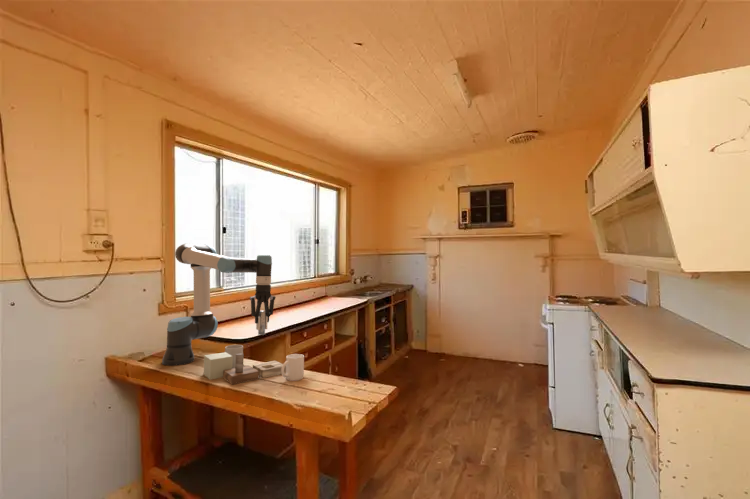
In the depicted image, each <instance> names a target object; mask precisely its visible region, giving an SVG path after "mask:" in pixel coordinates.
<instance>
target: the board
mask: <svg viewBox="0 0 750 499" xmlns="http://www.w3.org/2000/svg"><path fill="white" fill-rule="evenodd" d="M244 355H245V354H244V353H243V354H236V362H235V368H232V369H227V370H223V377H222V378H223V379H224V380H225V381H227V382H228V383H230V384H231V385H236V384H240V383H246V382H251V381H254V380H259V379H260V378H259V377H260V376H259V371H258V370H256V369H254V368H253V366H250V365H244Z"/></svg>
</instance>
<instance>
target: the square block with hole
mask: <svg viewBox="0 0 750 499" xmlns="http://www.w3.org/2000/svg"><path fill="white" fill-rule="evenodd" d="M283 364H284V363H281V362H279V361H277V360H270V361H267V362H260V363H255V364H252V368H254V369H256V370H258V371H259V377H260V378H262V379H264V378H270V377H273V376H277V375H282V374H281V368H282V365H283ZM284 373H285V374H286V366H285V368H284Z"/></svg>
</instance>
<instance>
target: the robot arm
mask: <svg viewBox="0 0 750 499" xmlns="http://www.w3.org/2000/svg"><path fill="white" fill-rule="evenodd" d="M174 257H175V258H176V260H177V261H178V262H179V263H181V264H186V265H190V268H191V270H192V272H193V312H192V313H191V314H190V316H180V317H176V318H173V319H169V322H168V323H167V328H166V330H167V332H166V334H167V335H166V349H165V352H164V354H163V357H162V360H161V361H162V362H161V364H162V365H164V366H169V367H170V366H172V367H174V366H181V365H186V364H191V363H193V362H195V353H194V351H193V347H192V341H193V340H197V339H202V338H208V337H210V336H213V335H214V334H215V333H216V331H217V329H218V325H219V323H218V322H219V321H218V319H217V317H216V316H214V313H213V312H212V310H211V269H214V270H219V272H220V273H225V274H230V273H235V274H236V273H238V274H239V273H241V274H242V273H255V276H256V277H255V284H256V285H255V292H254V295H253V296H249V300H250V315H251V316H252V317H254V324H256V325H255V329H256V330H257V331H258V330H260V317H259V313H260V311H261V308H262V304H263V305H264V311H266V320H265V330H268V323H269V322H270V317H271V315H273V314H274V306H275V300H276V296H275V295H272V294H271V289H272V285H271V284H272V266H273V261H272V259H273V258H272V256H271V255H269V254H257V255H256V258H250V257H249V258H248V257H247V258H246V257H245V258H244V257H230V256H225V255H222V254H218V253H217V250H216V249H215V247H213V246H212V245H209V244H201V243H200V244H199V243H183V244H180V245H179V246H178V247H177V248H176V249H175V253H174ZM256 300H257V301H256ZM269 300H270V301H269Z"/></svg>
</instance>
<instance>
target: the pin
mask: <svg viewBox="0 0 750 499" xmlns="http://www.w3.org/2000/svg"><path fill="white" fill-rule="evenodd" d="M259 317H260V330H257V333H258V334H257V335H259V336H262V335H263V336H264V335H266V329H265V320H266V311H265V310H260V313H259Z"/></svg>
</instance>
